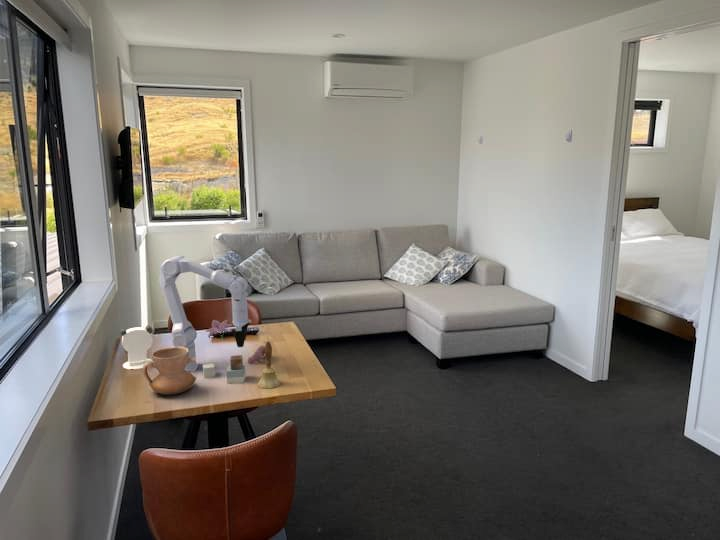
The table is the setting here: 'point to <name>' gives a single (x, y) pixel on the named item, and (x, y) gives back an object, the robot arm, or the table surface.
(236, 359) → the walnut cube
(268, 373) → the hand bell
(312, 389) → the table surface
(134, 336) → the panda figurine
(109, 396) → the table surface
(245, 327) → the robot arm
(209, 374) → the cream cube
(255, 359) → the video game controller
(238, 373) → the tower top
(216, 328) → the lily
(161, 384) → the ceramic jug
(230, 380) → the tower base
